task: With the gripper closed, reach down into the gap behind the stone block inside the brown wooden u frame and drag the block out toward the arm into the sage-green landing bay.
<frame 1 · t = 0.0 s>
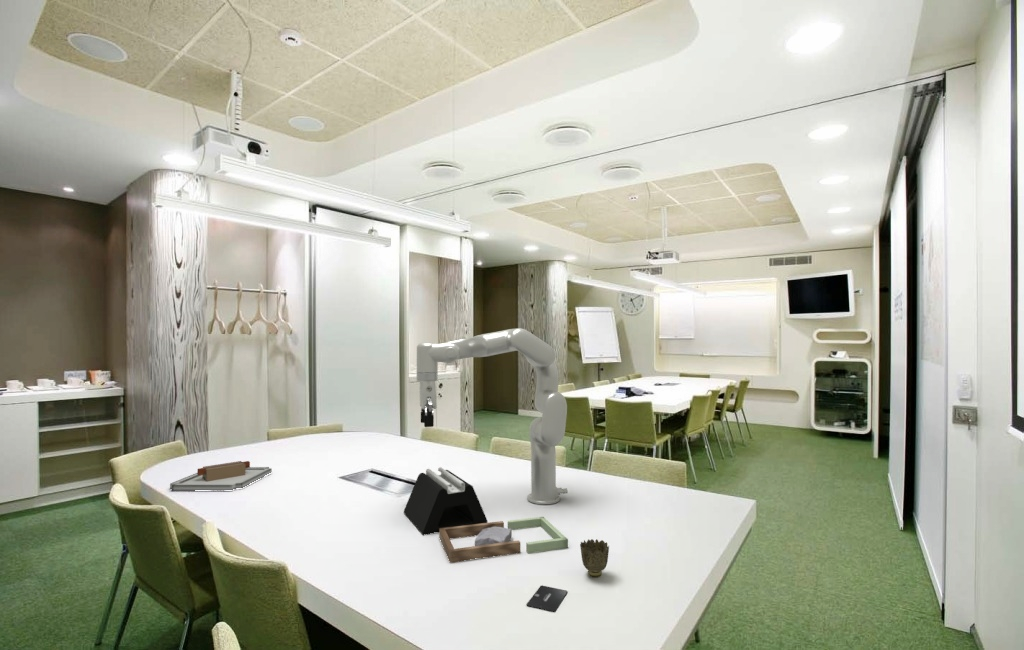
hand: (426, 424, 177), 31 cm above the table, tool pointing down, fingers open, 9 cm apart
device stand: (444, 519, 169), on the table
grey flat square tray: (223, 483, 216), on the table
solid state drive: (547, 601, 116), on the table
brown wooden u frame: (479, 545, 147), on the table
cup: (594, 576, 127), on the table
stone block: (492, 545, 148), on the table
landing bay: (536, 537, 152), on the table
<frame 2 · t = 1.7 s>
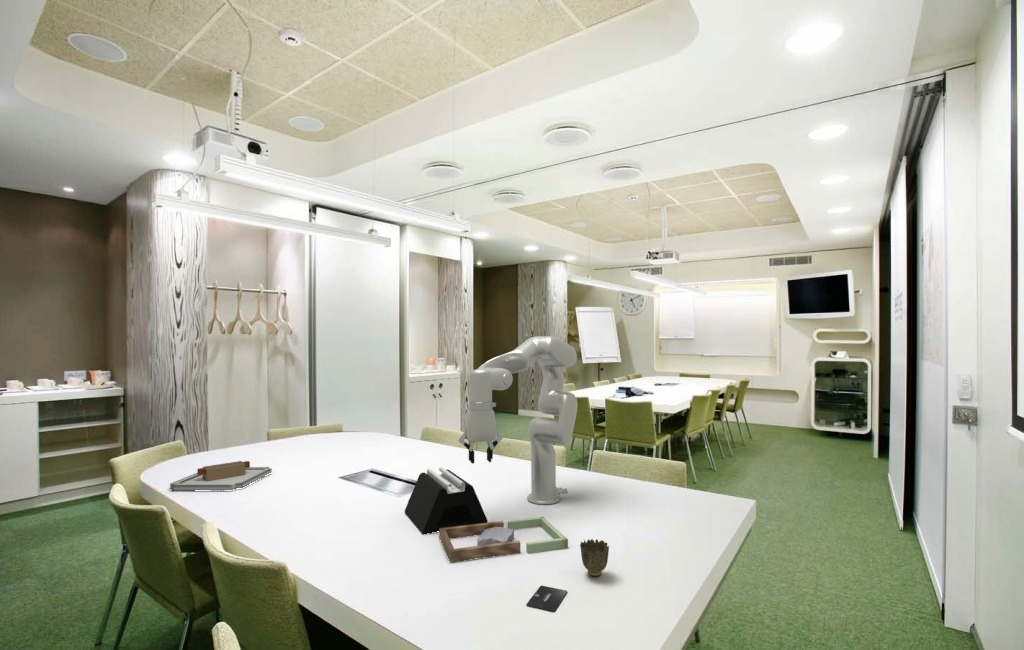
hand: (480, 461, 162), 21 cm above the table, tool pointing down, fingers open, 5 cm apart
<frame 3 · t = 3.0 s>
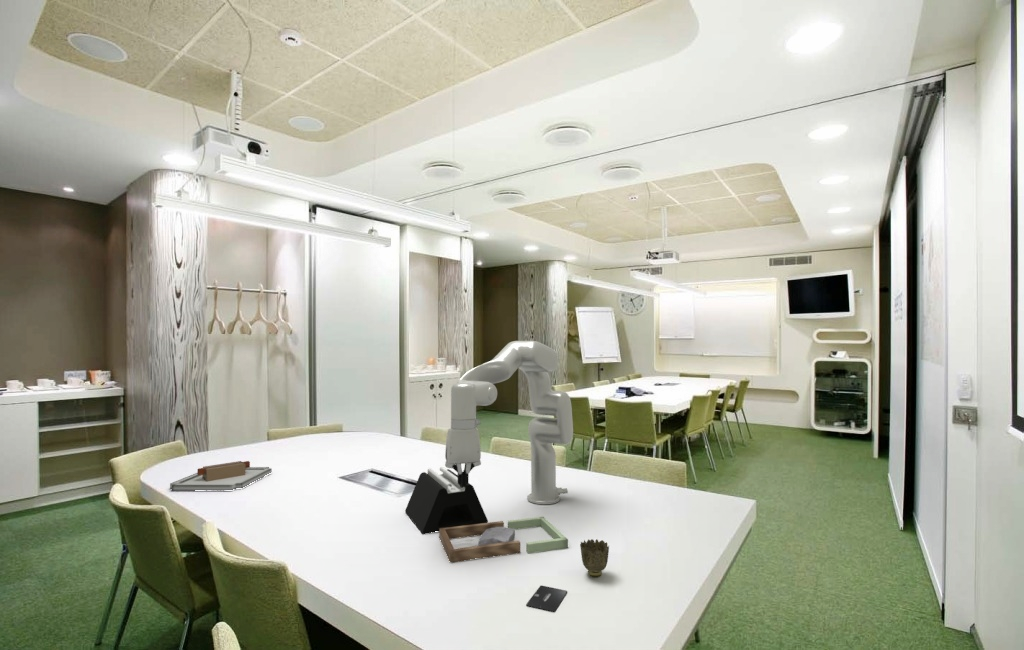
hand: (462, 486, 146), 18 cm above the table, tool pointing down, fingers closed
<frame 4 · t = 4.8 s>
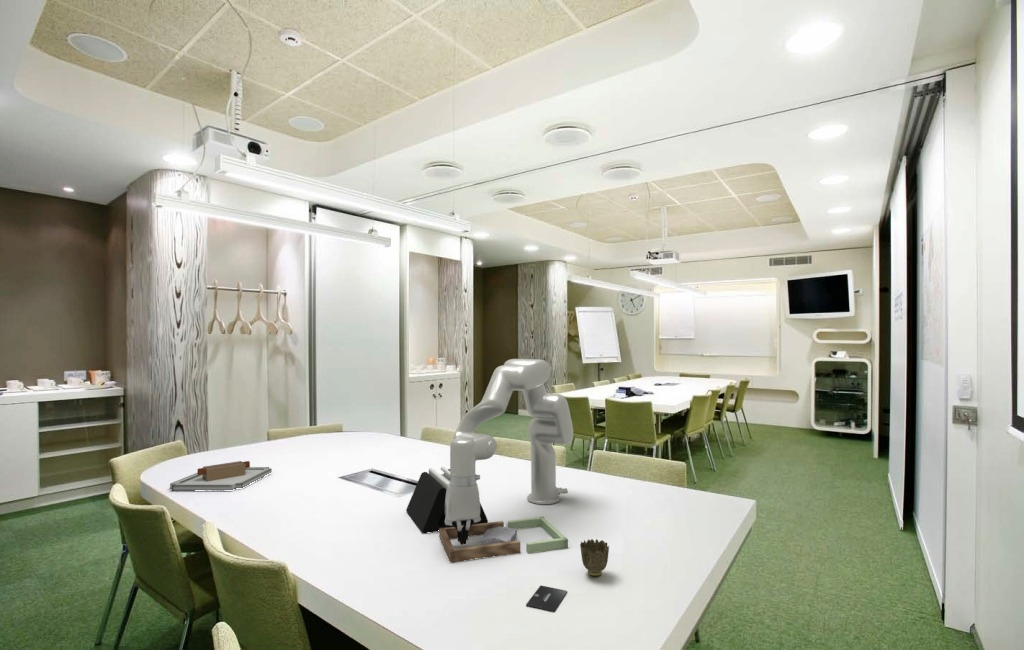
hand: (462, 542, 145), 1 cm above the table, tool pointing down, fingers closed
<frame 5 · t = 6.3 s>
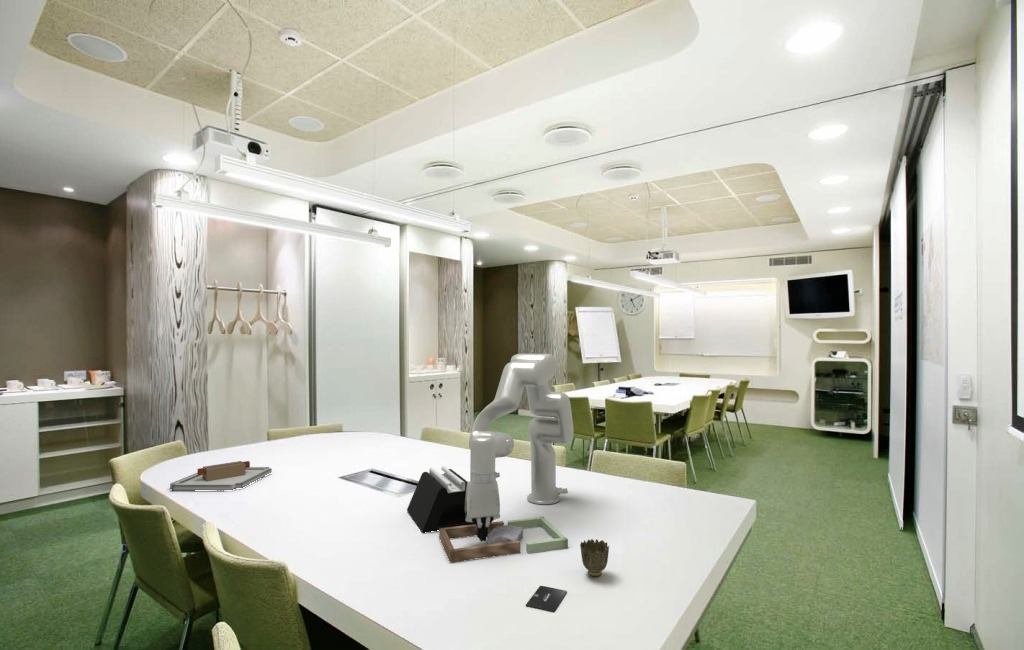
hand: (482, 539, 147), 2 cm above the table, tool pointing down, fingers closed
stone block: (504, 543, 148), on the table
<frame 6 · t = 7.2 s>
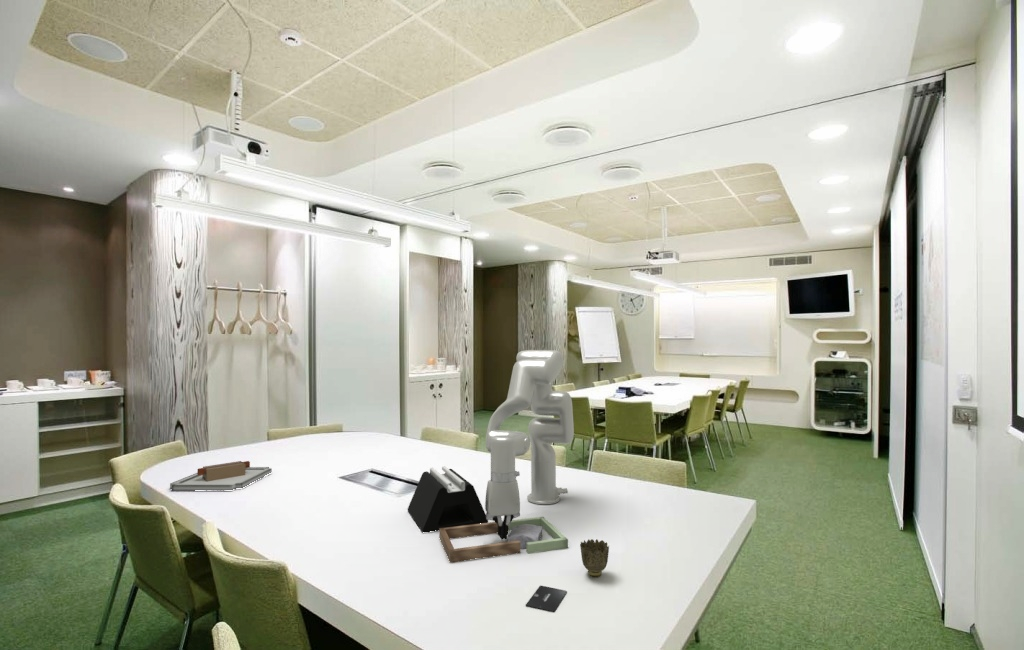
hand: (502, 537, 149), 1 cm above the table, tool pointing down, fingers closed
stone block: (524, 542, 149), on the table
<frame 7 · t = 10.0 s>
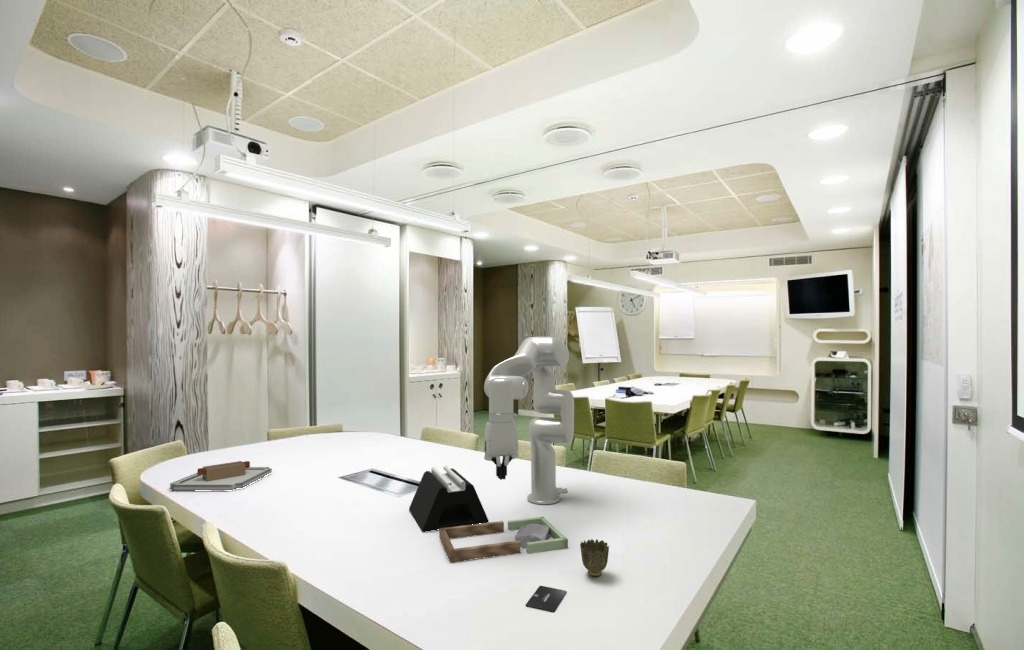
hand: (501, 478, 150), 19 cm above the table, tool pointing down, fingers closed
stone block: (531, 542, 150), on the table
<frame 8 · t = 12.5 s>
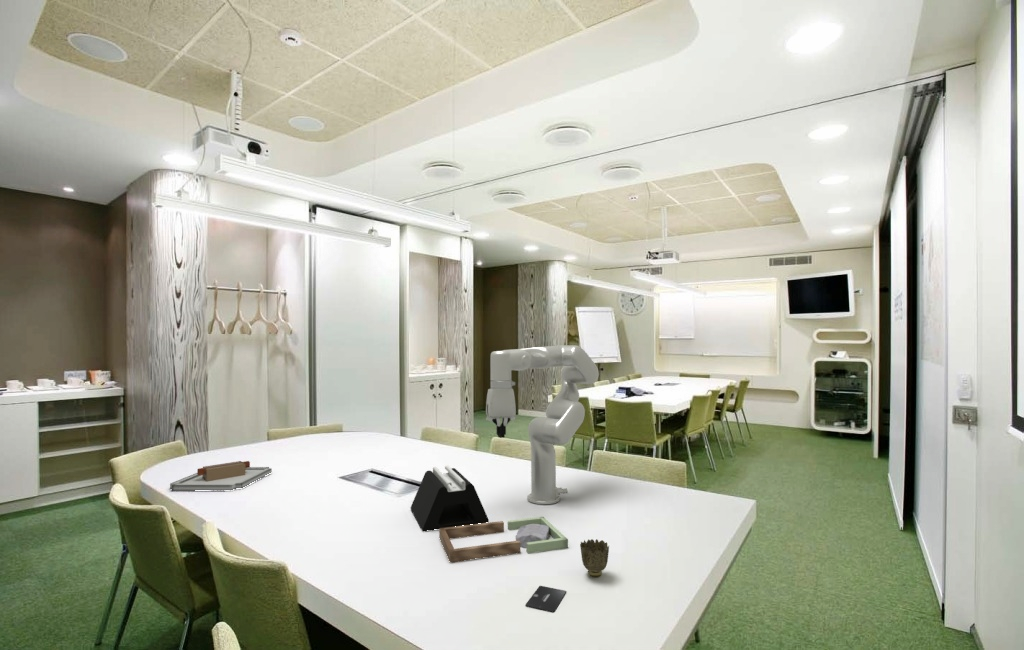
hand: (501, 436, 175), 27 cm above the table, tool pointing down, fingers closed
at the end: stone block inside the target area (1.6 cm from its centre), on the table; stone block tilted 0°; the gripper is holding nothing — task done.
